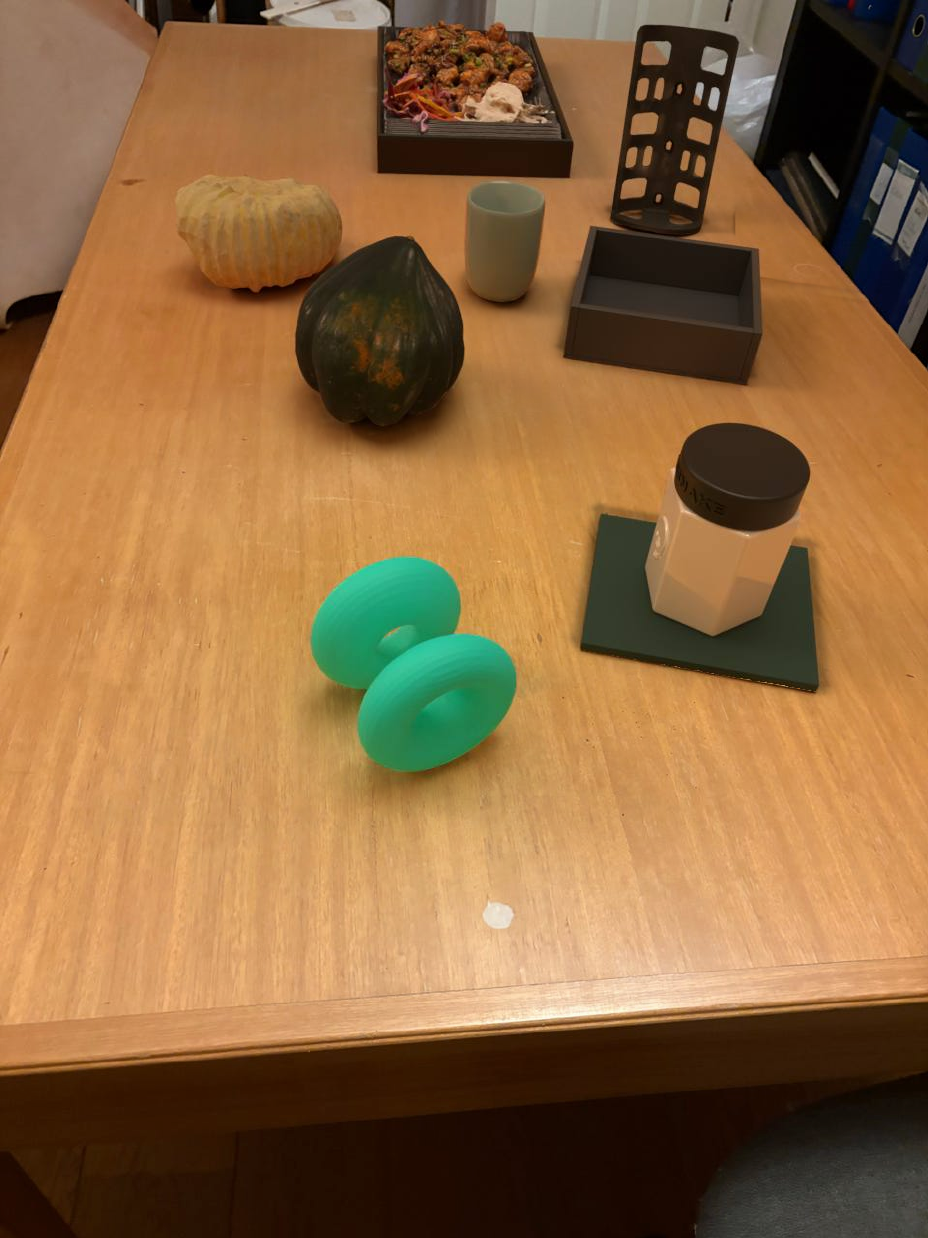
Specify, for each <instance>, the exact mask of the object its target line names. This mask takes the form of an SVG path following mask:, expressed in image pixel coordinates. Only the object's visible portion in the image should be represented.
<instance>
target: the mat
mask: <svg viewBox="0 0 928 1238" xmlns="http://www.w3.org/2000/svg"><path fill="white" fill-rule="evenodd" d="M598 521H599V522H598V528H597V534H596V542H595V548H594V553H593V555H594V556H593V560H592V561H593V562H592V567H591V575H590V582H589V587H588V594H587V600H586V607H585V614H584V622H583V626H582V634H581V640H580V647H579V650H580V649H581V650H580V651H583V650H586V651H585V652H588V651H591V652H590V653H594V652H596V653H595V654H599V653H601V654H600V655H605V654H606V655H605V656H610V655H614V656H613V657H616V656H619V657H618V658H621V657H623V658H622V659H627V658H629V659H628V660H632V659H636V660H635V661H638V660H639V662H643V661H646V662H645V663H649V662H650V663H649V664H654V663H655V664H654V665H660V664H665V665H668V666H667V667H671V666H677V667H680V668H679V669H682V668H687V669H690V670H689V671H693V670H699V671H702V672H701V673H704V672H709V673H714V674H713V675H715V674H719V675H718V676H720V675H725V676H724V677H726V676H730V677H729V678H731V677H735V678H734V679H737V678H743V679H750V680H752V681H751V682H754V681H760V682H767V683H773V684H779V685H785V686H788V687H794V688H800V689H805V690H811V691H816V692H817V691H818V689H819V687H820V682H819V681H820V679H819V669H818V656H817V644H816V633H815V622H814V621H815V620H814V609H813V596H812V595H813V594H812V585H811V573H810V571H811V570H810V562H809V561H810V560H809V548H808V547H804V546H798V545H793V544H791V545H790V548H789V550H788V553H787V555H786V557H785V560H784V562H783V565H782V567H781V569H780V572H779V574H778V577H777V579H776V581H775V584H774V586H773V589H772V591H771V594H770V596H769V598H768V601H767V603H766V606H765V608H764V610H763V613H762V615H761V616H759V617H757V618H754V619H752V620H750V621H747V622H745V623H743V624H740V625H738V626H736V627H734V628H731V629H729V630H727V631H725V632H722V633H720V634H718V635H715V636H710V635H707V634H705V633H703V632H700V631H698V630H696V629H693V628H691V627H689V626H686V625H684V624H682V623H679V622H677V621H675V620H672V619H670V618H668V617H665V616H663V615H661V614H659V613H656V612H654V611H653V609H652V603H651V598H650V592H649V587H648V581H647V576H646V570H645V565H646V561H647V557H648V554H649V550H650V546H651V542H652V539H653V535H654V531H655V527H656V524H657V522H654V521H648V520H642V519H637V518H630V517H624V516H618V515H612V514H607V513H600V517H599V520H598ZM665 665H664V666H665ZM687 669H686V670H687ZM709 673H708V674H709ZM743 679H742V680H743Z"/></svg>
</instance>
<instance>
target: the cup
mask: <svg viewBox="0 0 928 1238" xmlns="http://www.w3.org/2000/svg"><path fill="white" fill-rule="evenodd" d="M543 193H544V192H542V191H540V189H538V188H536V187H534V186H531V185H529V184H526V183H522V182H518V181H517V182H516V181H510V180H490V181H483V182H480V183H477V184H475V185H474V186H473V187H471V188H470V190H469V191H468V193H467V195H466V202H465V217H464V238H463V239H464V240H463V241H464V243H463V245H464V247H463V248H464V249H463V251H464V252H463V253H464V254H463V255H464V270H465V276H466V279H467V282H468V285H469V287H470V289H471V290H472V291H473V292H474V294H476V295H477V296H479V297H480V298H482V299H484V300H488V301H490V302H497V303H508V302H513V301H517V300H518V299H520V298H522V297H523V296H524V295H525V294H526V293H527V292H528V291H529V290H530V288H531V286H532V284H533V282H534V279H535V276H536V273H537V270H538V264H539V260H540V254H541V250H542V249H541V248H542V241H543V234H544V233H543V232H544V224H545V214H546V198H545V195H544V194H543Z"/></svg>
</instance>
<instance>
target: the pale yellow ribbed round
mask: <svg viewBox="0 0 928 1238" xmlns="http://www.w3.org/2000/svg"><path fill="white" fill-rule="evenodd" d="M174 204H175V205H174V206H175V211H176V224H175V227H176V233H177V235H178V236H179V237H180V238H181V240H183V241H184V242H185V243H186V244H187V246H188V248H189V250H190V252H191V255H192V256H193V258H194V260H195V263H196V264H197V266H198V267H199V269H200V270H201V271H202V273H203V274H204V275H205V276H206V277H207V278H208V279H209V280H210V281H211V282H212V283H213V284H214V285H216V286H218V287H223V288H227V289H234V290H236V289H240V288H243V289H244V288H248V289H250V290H251V291H252V292H253V293H259V292H260V290H262V288H263V287H270V288H272V287H274V286H279V287H281V288H284V287H286V286H289V285H293V284H294V283H295V281H296V280H300V279H304V278H311V277H312V275H314V274H318V273H320V272H321V271H322V270H324V268H326V266H327V265H328V264H329V263H330V262H331V261H332V260H333V259H334V257H335V255H336V253H337V251H338V249H339V248H340V244H341V242H342V236H343V221H342V217H341V214H340V210H339V208H338V206H337V204H336V202H335V201H334V199H333V198H332V197H331V195H330V194H328V192H327V191H326V190H325V188H323V187H322V186H320V185H319V184H302V183H299V182H298V181H297V180H296V178H289V177H288V178H287V177H285V178H280V179H269V180H262V179H259V178H254V177H252V176H248V175H242V176H219V175H216V174H214V173H211V174H210V173H209V174H205V175H204V176H201V177H199V178H198V179H195V180H193V181H191V182H190V183H189V184H187V185H185V186H180V188H179V189H178V190H177V191H176V197H175V198H174Z"/></svg>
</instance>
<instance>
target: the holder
mask: <svg viewBox="0 0 928 1238" xmlns="http://www.w3.org/2000/svg"><path fill="white" fill-rule="evenodd" d="M649 42H650V43H651V42H661V43H664V42H668V44H670V50H669V57H668V62H667V63H666V64H643V63H642V60H643V59H642V58H643V52H644V46H645V44H646V43H649ZM739 46H740V41H739V39H738V37H737V36H736V35H734V34H730V33H726V32H723V31H718V30H711V29H705V28H698V27H689V26H682V25H681V26H680V25H670V24H643V25H640V27H639V28H638V29H637V31H636V37H635V46H634V52H633V59H632V66H631V74H630V79H629V80H630V81H629V89H628V94H627V101H626V108H625V114H624V115H625V116H624V120H623V121H624V122H623V129H622V135H621V143H620V149H619V156H618V163H617V170H616V177H615V184H614V191H613V196H612V203H611V208H610V209H611V210H610V216H609V221H611V222H612V223H614V224H617V225H619V226H625V227H628V228H632V229H636V230H640V231H645V232H646V231H647V232H653V233H655V234H660V235H675V236H687V235H695V234H698V233H699V232H700V231H701V229H702V226H703V221H704V217H705V216H704V215H705V211H706V206H707V200H708V195H709V191H710V184H711V179H712V174H713V169H714V164H715V160H716V155H717V149H718V145H719V140H720V133H721V130H722V126H723V120H724V116H725V111H726V107H727V102H728V97H729V92H730V88H731V83H732V78H733V74H734V70H735V64H736V60H737V55H738V52H739V51H738V50H739V48H740V47H739ZM706 48H712V49H716V50H718V51H723V52H724V53H726V55H727V59H726V62H725V63H726V64H725V67H724V73H723V74H720V73H717V72H714V71H712V70H711V71H710V70H706V69H703V68H702V61H703V56H704V52H705V49H706ZM643 79H647V80H648V85H647V91H646V97H645V98H644V99H641V100H639V99H637V92H638V85H639V81H641V80H643ZM660 79H663V90H662V96H661V98H660V99H658V98H656V97H655V96H656V89H657V86H658V85H657V84H658V81H659V80H660ZM698 84H702V85H703V90H702V95H701V99H700V104H696V103H695V101H694V100H695V96H696V91H697V86H698ZM679 86H681V91H680V93H679V92H678V89H679ZM715 88H716V89H718V92H719V95H718V100H717V107H716V109H715V110H714V109H712V108H711V107H710V106H709V102H710V98H711V93H712V89H715ZM649 113H651V114H652V113H653V114H655V115H657V124H656V128H655V131H654V132H653V133H639V134H637V133H636V134H632V133H631V132H632V124H633V118H634V116H637V115H638V114H649ZM693 118H694V119H697V120H700V121H703V122H705V123H707V124H710V125H711V132H710V133H711V134H710V138H709V144H707V143H705V142H703V141H699V140H696V139H694V138H691V137H689V136H688V131H689V126H690V120H691V119H693ZM669 142H670V143H671V144H670V148H669V149H668V148H667V145H668V143H669ZM647 147H651V148H652V150H651V151H652V152H651V155H650V156H651V157H650V163H649V164H648V165H644V164H643V163H644V158H645V152H646V149H647ZM633 148H636V149H637V151H636V157H635V162H634V163H635V164H634V165H632V166H629V167H627V159H628V152H629V150H630V149H633ZM685 151H686V152H689V157H688V162H687V163H688V164H687V168H686V169H685V170H684V169H682V168H681V165H682V160H683V156H684V152H685ZM699 156H700V157H703V158H704V163H705V165H704V171H703V175H702V176H700V175H698V174H697V173H696V172H695V170H696V165H697V160H698V158H699ZM635 179H645V180H646V183H645V189H644V193H643V195H642V196H636V197H635V196H633V197H632V196H631V197H627V198H621V196H622V189H623V184H624V183H625V181H628V180H635ZM679 183H681V184H684V185H688V186H689V187H691V188H694V189H696V190H697V191H698V192H699V195H698V203H697V207H694V206H692V205H690V204H687V203H684V202H680V201H677V200H676V199H675V195H676V190H677V185H678V184H679ZM657 196H660V200H659V201H657ZM633 211H642V215H641V218H633V217H630V216H628V215H624V214H621V213H624V212H633ZM670 215H675V216H677V217H681V218H683V219H686V220H688V221H690V222H691V223H690V222H689V223H680V224H678V223H673V222H671V221H670Z"/></svg>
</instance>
